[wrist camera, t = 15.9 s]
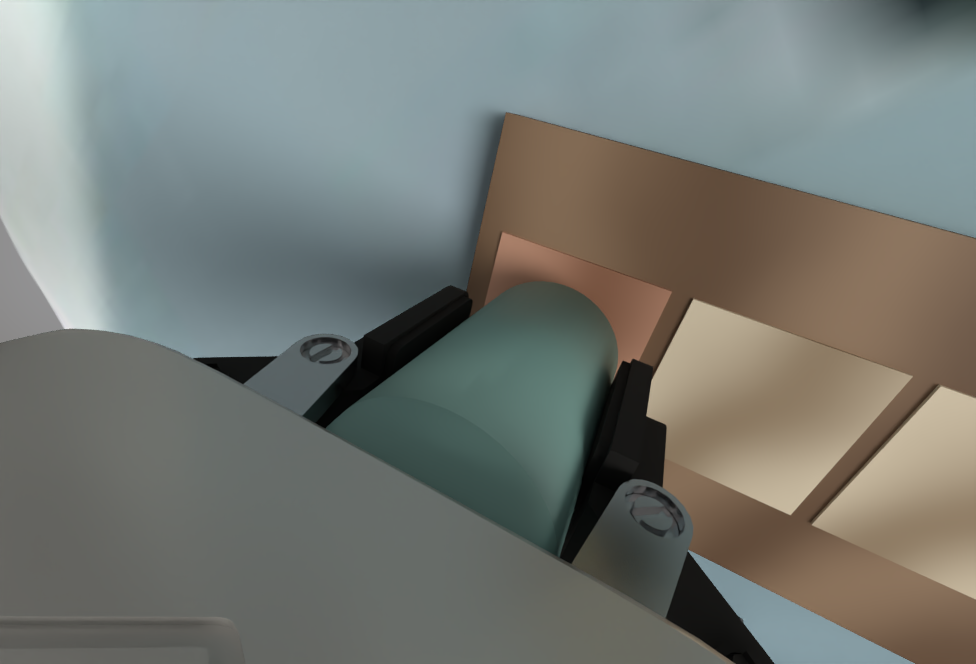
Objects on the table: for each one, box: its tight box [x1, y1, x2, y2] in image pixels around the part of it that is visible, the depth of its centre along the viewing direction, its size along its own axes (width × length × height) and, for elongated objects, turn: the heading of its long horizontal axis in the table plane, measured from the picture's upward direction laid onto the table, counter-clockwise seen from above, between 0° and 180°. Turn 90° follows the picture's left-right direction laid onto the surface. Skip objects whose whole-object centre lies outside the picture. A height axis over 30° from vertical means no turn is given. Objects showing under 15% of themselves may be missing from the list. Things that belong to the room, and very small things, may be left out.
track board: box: [466, 112, 976, 664], centre depth 12 cm, size 25×12×1 cm, turn 76°
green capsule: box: [325, 281, 618, 557], centre depth 9 cm, size 4×4×9 cm
